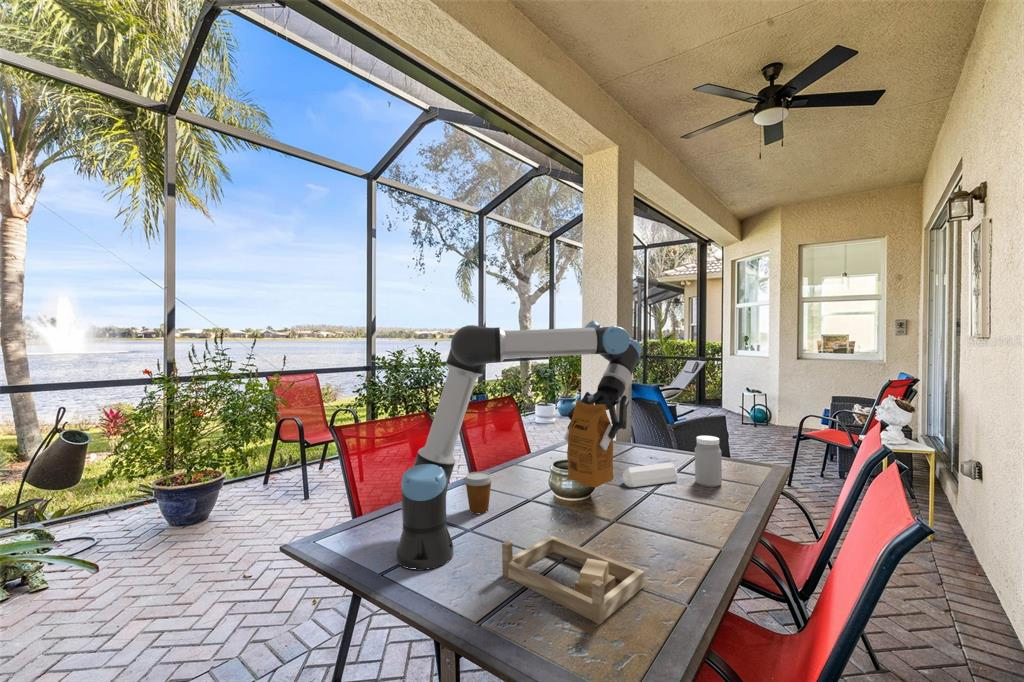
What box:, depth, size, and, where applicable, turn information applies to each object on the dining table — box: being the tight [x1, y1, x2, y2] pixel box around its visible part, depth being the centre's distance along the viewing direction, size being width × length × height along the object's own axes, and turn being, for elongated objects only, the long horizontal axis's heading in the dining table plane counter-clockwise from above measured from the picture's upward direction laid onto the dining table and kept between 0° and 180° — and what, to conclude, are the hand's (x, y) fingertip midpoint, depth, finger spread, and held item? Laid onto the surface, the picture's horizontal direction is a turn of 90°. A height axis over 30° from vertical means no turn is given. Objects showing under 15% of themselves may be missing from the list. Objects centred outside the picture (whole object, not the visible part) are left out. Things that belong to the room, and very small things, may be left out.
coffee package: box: [566, 399, 615, 488], centre depth 126 cm, size 10×12×22 cm
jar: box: [694, 435, 723, 488], centre depth 177 cm, size 10×10×18 cm
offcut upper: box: [579, 558, 609, 588], centre depth 105 cm, size 7×5×3 cm
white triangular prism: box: [622, 462, 679, 488], centre depth 180 cm, size 7×7×24 cm
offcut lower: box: [574, 575, 617, 598], centre depth 105 cm, size 8×6×3 cm
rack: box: [501, 535, 646, 625], centre depth 109 cm, size 19×28×8 cm
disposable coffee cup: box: [464, 471, 493, 514], centre depth 154 cm, size 10×10×12 cm
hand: (584, 444), depth 124 cm, fingers closed on coffee package, 11 cm apart
